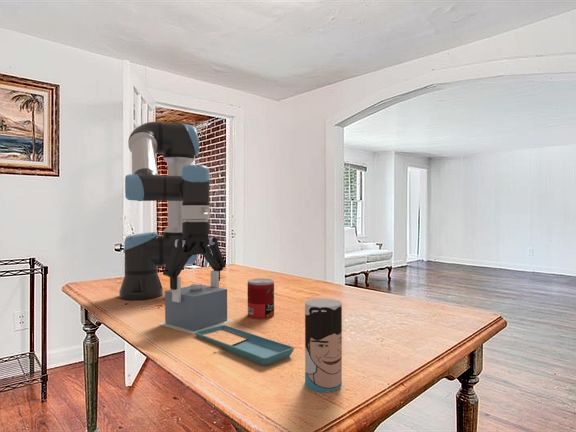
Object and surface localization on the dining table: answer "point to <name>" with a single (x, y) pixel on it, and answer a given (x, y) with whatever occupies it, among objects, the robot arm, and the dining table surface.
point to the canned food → (260, 298)
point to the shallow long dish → (251, 346)
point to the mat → (197, 330)
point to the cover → (196, 307)
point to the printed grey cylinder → (323, 344)
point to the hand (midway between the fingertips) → (196, 297)
